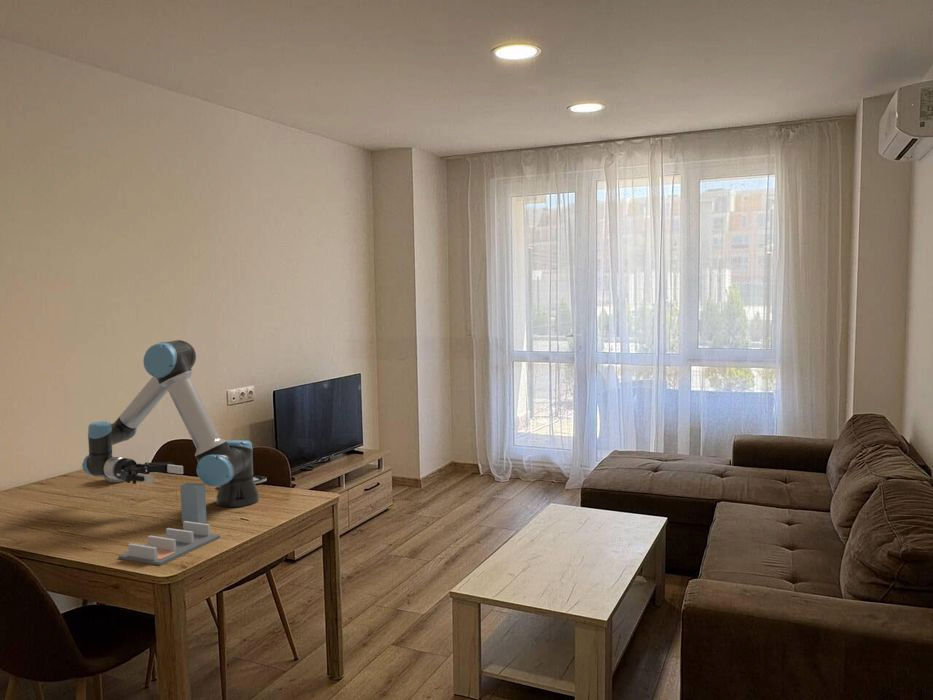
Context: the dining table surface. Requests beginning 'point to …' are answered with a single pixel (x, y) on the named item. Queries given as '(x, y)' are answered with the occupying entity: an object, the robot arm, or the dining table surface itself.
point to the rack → (171, 544)
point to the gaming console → (258, 480)
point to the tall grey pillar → (193, 502)
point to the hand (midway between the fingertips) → (168, 474)
